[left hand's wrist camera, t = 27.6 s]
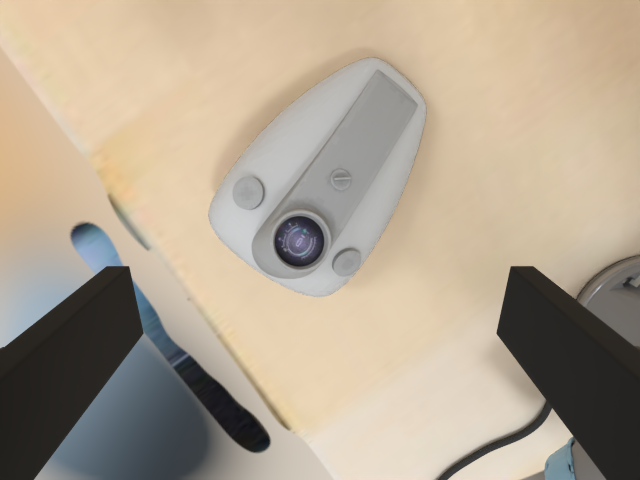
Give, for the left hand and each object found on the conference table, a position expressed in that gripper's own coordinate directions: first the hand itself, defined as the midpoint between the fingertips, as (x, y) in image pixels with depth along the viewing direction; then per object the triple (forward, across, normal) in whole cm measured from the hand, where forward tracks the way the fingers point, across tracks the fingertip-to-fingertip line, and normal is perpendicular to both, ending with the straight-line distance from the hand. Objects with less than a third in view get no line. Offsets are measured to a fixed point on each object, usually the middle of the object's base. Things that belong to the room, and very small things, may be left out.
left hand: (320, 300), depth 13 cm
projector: (+29, 0, +1) cm, 29 cm away
